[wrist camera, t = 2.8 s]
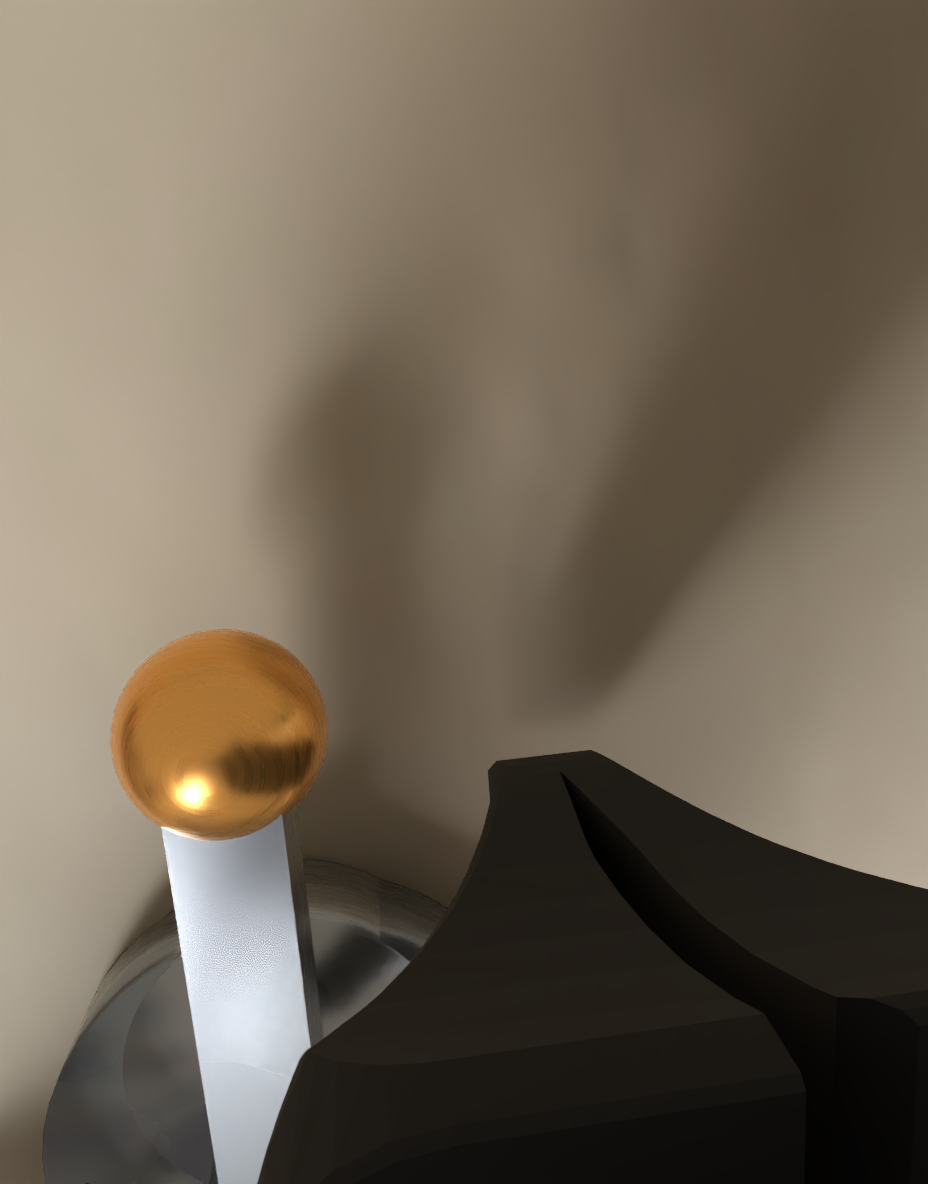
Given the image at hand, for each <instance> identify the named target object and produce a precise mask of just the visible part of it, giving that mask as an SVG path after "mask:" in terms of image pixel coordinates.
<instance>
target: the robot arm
mask: <svg viewBox="0 0 928 1184" xmlns="http://www.w3.org/2000/svg"><path fill="white" fill-rule="evenodd" d="M488 779H489V792H490V804H489V809H488V813H487V817H486V821H485V824H484V828H483V832H482V835H481V838H480V841H479V844H478V846H477V849H476V851H475V854H474V856H473V859H472V861H471V864H470V866H469V869H468V871H467V873H466V876H465V878H464V880H463V882H462V884H461V886H460V888H459V890H458V892H457V893H456V895H455V897H454V899H453V901H452V902H451V904H450V906H449V908H448V909H447V911H446V913H445V914H444V916H443V917H442V919H441V920H440V922H439V923H438V925H437V926H436V928H435V929H434V930H433V932H432V933H431V935H430V936H429V938H428V939H427V941H426V942H425V943H424V945H423V946H422V947H421V949H420V950H419V951H418V953H417V954H416V955H415V956H414V958H413V959H412V960H411V961H410V963H409V964H408V965H407V966H406V967H405V968H404V969H403V970H402V971H401V972H400V973H399V974H398V975H397V977H396V978H395V979H394V980H393V981H392V982H391V983H390V984H389V985H388V986H387V987H386V988H385V989H384V990H383V991H382V992H381V993H380V994H379V995H378V996H377V997H376V998H375V999H373V1000H372V1001H371V1002H370V1003H369V1004H368V1005H367V1006H365V1007H364V1008H363V1009H361V1010H360V1011H359V1012H358V1013H356V1014H355V1015H354V1016H352V1017H351V1018H350V1019H348V1020H347V1021H346V1022H344V1023H343V1024H342V1025H341V1026H339V1027H338V1028H337V1029H335V1030H334V1031H333V1032H331V1033H330V1034H329V1035H327V1036H326V1037H325V1038H324V1039H322V1040H321V1041H319V1042H318V1043H316V1044H315V1045H314V1046H312V1047H311V1048H309V1049H308V1050H306V1052H305V1053H304V1054H303V1055H302V1056H301V1058H300V1059H299V1062H298V1064H297V1067H296V1069H295V1072H294V1074H293V1076H292V1079H291V1082H290V1084H289V1087H288V1090H287V1092H286V1095H285V1098H284V1100H283V1103H282V1105H281V1108H280V1111H279V1114H278V1117H277V1120H276V1123H275V1126H274V1129H273V1132H272V1135H271V1138H270V1141H269V1144H268V1147H267V1150H266V1153H265V1157H264V1160H263V1164H262V1168H261V1172H260V1175H259V1179H258V1182H257V1184H928V889H924V888H920V887H915V886H912V885H908V884H904V883H900V882H897V881H893V880H889V879H885V878H881V877H878V876H874V875H870V874H866V873H862V872H859V871H855V870H852V869H849V868H846V867H842V866H839V865H836V864H833V863H829V862H826V861H824V860H821V859H818V858H815V857H812V856H810V855H807V854H804V853H801V852H799V851H796V850H793V849H790V848H787V847H785V846H782V845H779V844H776V843H774V842H771V841H769V840H767V839H764V838H762V837H759V836H757V835H754V834H752V833H750V832H748V831H746V830H743V829H741V828H739V827H737V826H735V825H733V824H730V823H728V822H726V821H724V820H722V819H720V818H717V817H715V816H713V815H711V814H709V813H707V812H705V811H703V810H701V809H699V808H697V807H695V806H693V805H691V804H689V803H687V802H686V801H684V800H682V799H680V798H678V797H676V796H674V795H673V794H671V793H669V792H667V791H665V790H663V789H662V788H660V787H658V786H656V785H654V784H653V783H651V782H649V781H647V780H646V779H644V778H642V777H640V776H639V775H637V774H635V773H633V772H632V771H630V770H628V769H626V768H625V767H623V766H621V765H619V764H618V763H616V762H614V761H612V760H611V759H609V758H607V757H605V756H603V755H601V754H599V753H597V752H594V751H592V750H586V751H578V752H569V753H561V754H552V755H544V756H535V757H527V758H518V759H510V760H501V761H496V762H495V763H494V764H493V765H492V766H491V768H490V769H489V770H488Z"/></svg>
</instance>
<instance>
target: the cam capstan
mask: <svg viewBox="0 0 928 1184" xmlns="http://www.w3.org/2000/svg"><path fill="white" fill-rule="evenodd" d="M327 737H328V732H327V716H326V710H325V705H324V702H323V699H322V696H321V693H320V691H319V689H318V687H317V685H316V683H315V681H314V679H313V678H312V676H311V675H310V673H309V672H308V670H307V669H306V668H305V666H304V665H303V664H302V663H301V662H300V661H299V660H298V659H297V658H296V657H295V656H294V655H293V654H291V653H290V652H289V651H288V650H286V649H285V648H283V647H282V646H280V645H279V644H277V643H275V642H273V641H271V640H269V639H267V638H265V637H262V636H259V635H257V634H254V633H249V632H245V631H240V630H230V629H218V630H208V631H201V632H197V633H194V634H190V635H187V636H184V637H182V638H180V639H177V640H175V641H173V642H171V643H169V644H167V645H166V646H164V647H162V648H160V649H159V650H158V651H156V652H155V653H154V654H153V655H151V656H150V657H149V658H148V659H147V660H146V661H145V662H144V663H143V664H142V665H141V666H140V667H139V668H138V669H137V670H136V671H135V672H134V674H133V675H132V677H131V678H130V679H129V681H128V682H127V684H126V686H125V688H124V690H123V692H122V694H121V695H120V697H119V700H118V703H117V705H116V708H115V711H114V716H113V721H112V727H111V752H112V759H113V763H114V767H115V771H116V774H117V776H118V779H119V781H120V784H121V785H122V787H123V789H124V791H125V792H126V794H127V796H128V797H129V798H130V800H131V801H132V802H133V803H134V805H135V806H136V807H137V808H138V809H139V810H140V811H141V812H142V813H143V814H144V815H145V816H146V817H147V818H148V819H150V820H151V821H152V822H154V823H155V824H157V825H158V826H160V827H161V828H162V834H163V840H164V847H165V853H166V859H167V865H168V872H169V878H170V884H171V890H172V896H173V903H174V909H175V910H174V911H173V912H171V913H169V914H167V915H166V916H165V917H163V918H162V919H161V920H160V921H158V922H157V923H156V924H154V925H153V926H152V927H150V928H149V929H148V930H146V931H145V932H144V933H143V934H142V935H141V936H140V937H139V938H138V939H137V940H136V941H135V942H134V943H133V944H132V945H131V946H130V947H129V948H128V949H127V950H126V951H125V952H124V953H123V954H122V955H121V956H120V958H119V959H118V960H117V962H116V963H115V964H114V965H113V967H112V968H111V969H110V971H109V972H108V973H107V975H106V976H105V978H104V980H103V982H102V983H101V985H100V987H99V989H98V990H97V992H96V994H95V996H94V998H93V999H92V1002H91V1004H90V1006H89V1009H88V1011H87V1013H86V1016H85V1018H84V1020H83V1023H82V1025H81V1027H80V1029H79V1032H78V1034H77V1036H76V1039H75V1041H74V1043H73V1046H72V1048H71V1050H70V1053H69V1055H68V1057H67V1059H66V1062H65V1064H64V1066H63V1069H62V1071H61V1073H60V1076H59V1078H58V1081H57V1084H56V1086H55V1089H54V1092H53V1094H52V1097H51V1100H50V1102H49V1106H48V1111H47V1116H46V1121H45V1126H44V1132H43V1165H44V1173H45V1180H46V1184H257V1182H258V1179H259V1175H260V1172H261V1168H262V1164H263V1160H264V1157H265V1153H266V1150H267V1147H268V1144H269V1141H270V1138H271V1135H272V1132H273V1129H274V1126H275V1123H276V1120H277V1117H278V1114H279V1111H280V1108H281V1105H282V1103H283V1100H284V1098H285V1095H286V1092H287V1090H288V1087H289V1084H290V1082H291V1079H292V1076H293V1074H294V1072H295V1069H296V1067H297V1064H298V1062H299V1059H300V1058H301V1056H302V1055H303V1054H304V1053H305V1052H306V1050H308V1049H309V1048H311V1047H312V1046H314V1045H315V1044H316V1043H318V1042H319V1041H321V1040H322V1039H324V1038H325V1037H326V1036H327V1035H329V1034H330V1033H331V1032H333V1031H334V1030H335V1029H337V1028H338V1027H339V1026H341V1025H342V1024H343V1023H344V1022H346V1021H347V1020H348V1019H350V1018H351V1017H352V1016H354V1015H355V1014H356V1013H358V1012H359V1011H360V1010H361V1009H363V1008H364V1007H365V1006H367V1005H368V1004H369V1003H370V1002H371V1001H372V1000H373V999H375V998H376V997H377V996H378V995H379V994H380V993H381V992H382V991H383V990H384V989H385V988H386V987H387V986H388V985H389V984H390V983H391V982H392V981H393V980H394V979H395V978H396V977H397V975H398V974H399V973H400V972H401V971H402V970H403V969H404V968H405V967H406V966H407V965H408V964H409V963H410V961H411V960H412V959H413V958H414V956H415V955H416V954H417V953H418V951H419V950H420V949H421V947H422V946H423V945H424V943H425V942H426V941H427V939H428V938H429V936H430V935H431V933H432V932H433V930H434V929H435V928H436V926H437V925H438V923H439V922H440V920H441V919H442V917H443V916H444V914H445V913H446V911H447V909H446V908H444V907H443V906H441V905H439V904H438V903H436V902H435V901H433V900H431V899H429V898H427V897H425V896H423V895H421V894H418V893H416V892H414V891H412V890H410V889H407V888H405V887H402V886H399V885H396V884H393V883H389V882H386V881H383V880H380V879H377V878H376V877H374V876H371V875H369V874H367V873H365V872H362V871H360V870H358V869H354V868H351V867H348V866H345V865H342V864H336V863H331V862H326V861H316V860H303V857H302V849H301V840H300V832H299V823H298V815H297V805H298V804H299V803H300V802H301V801H302V800H303V798H304V797H305V796H306V794H307V793H308V792H309V790H310V788H311V787H312V785H313V783H314V782H315V780H316V778H317V776H318V774H319V771H320V769H321V766H322V763H323V759H324V755H325V751H326V746H327Z"/></svg>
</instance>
